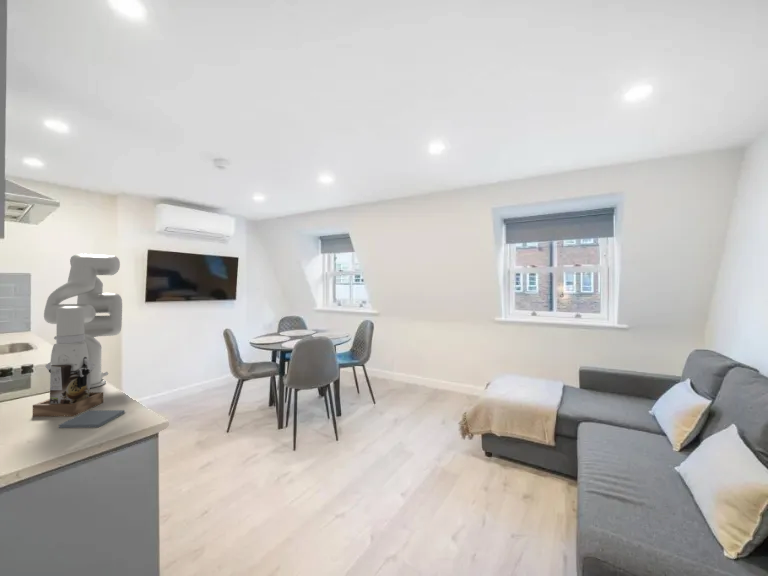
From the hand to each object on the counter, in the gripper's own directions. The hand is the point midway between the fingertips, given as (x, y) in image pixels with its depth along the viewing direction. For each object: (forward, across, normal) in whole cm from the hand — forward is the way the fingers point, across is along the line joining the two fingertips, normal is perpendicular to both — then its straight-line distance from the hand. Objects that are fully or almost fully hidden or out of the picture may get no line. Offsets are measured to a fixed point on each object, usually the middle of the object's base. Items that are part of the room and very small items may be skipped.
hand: (70, 386), depth 121 cm
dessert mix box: (+8, 0, 0) cm, 8 cm away
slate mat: (+8, +16, -10) cm, 21 cm away
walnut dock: (+8, 0, 0) cm, 8 cm away
